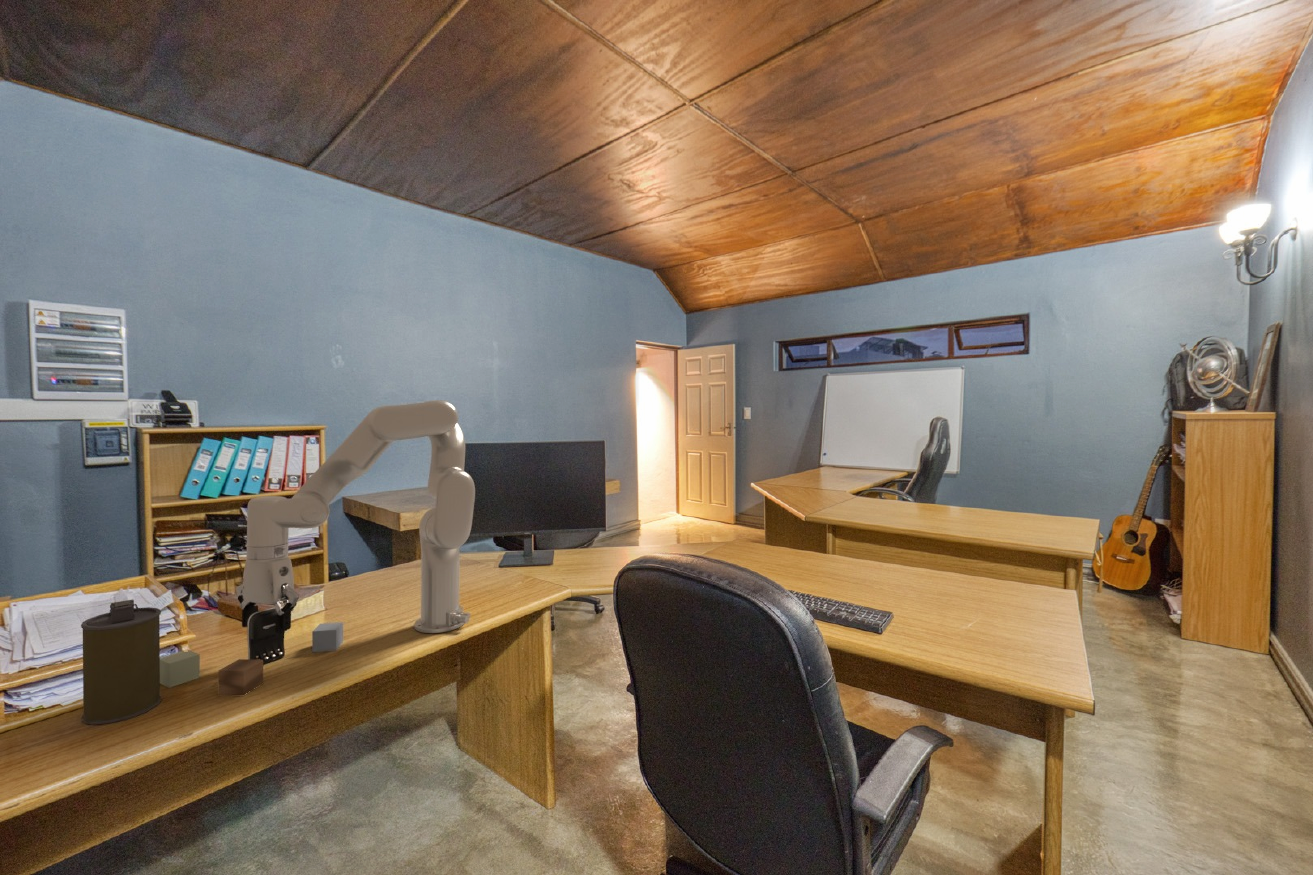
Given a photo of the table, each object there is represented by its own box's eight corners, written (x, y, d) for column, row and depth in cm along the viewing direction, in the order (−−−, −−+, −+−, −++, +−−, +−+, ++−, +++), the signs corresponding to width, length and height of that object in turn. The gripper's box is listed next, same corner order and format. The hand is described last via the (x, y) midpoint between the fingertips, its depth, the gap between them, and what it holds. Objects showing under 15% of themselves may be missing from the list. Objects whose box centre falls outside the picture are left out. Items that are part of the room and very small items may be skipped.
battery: (254, 669, 115) (254, 617, 115) (246, 665, 117) (246, 613, 117) (289, 657, 121) (289, 607, 121) (281, 653, 123) (281, 604, 123)
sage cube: (199, 677, 111) (199, 654, 111) (169, 688, 106) (169, 663, 106) (187, 672, 113) (187, 649, 113) (157, 682, 109) (157, 658, 109)
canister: (164, 709, 99) (164, 602, 98) (82, 732, 91) (81, 617, 90) (157, 689, 106) (157, 589, 105) (80, 709, 98) (80, 602, 98)
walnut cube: (263, 683, 109) (263, 659, 109) (243, 696, 104) (243, 670, 104) (239, 683, 109) (239, 659, 109) (218, 695, 104) (218, 670, 104)
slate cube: (343, 642, 130) (343, 622, 130) (336, 650, 125) (336, 629, 125) (320, 644, 129) (320, 623, 129) (312, 652, 124) (312, 631, 124)
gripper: (313, 551, 120) (311, 627, 120) (255, 545, 124) (254, 617, 124) (281, 559, 112) (279, 639, 113) (221, 552, 117) (220, 628, 117)
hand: (266, 627), depth 119 cm, fingers open, 9 cm apart
